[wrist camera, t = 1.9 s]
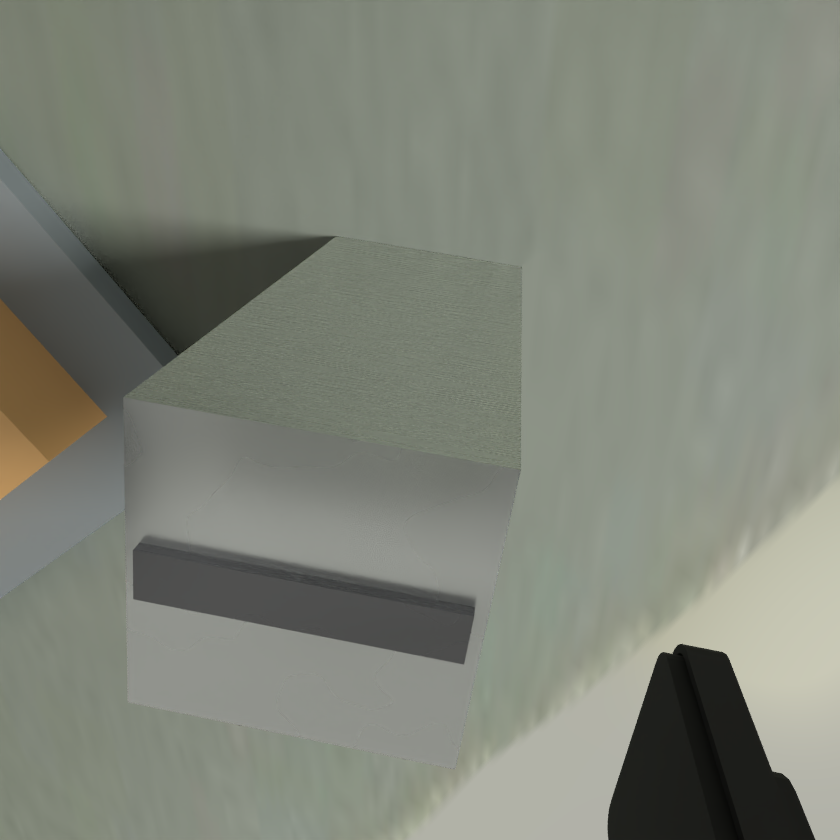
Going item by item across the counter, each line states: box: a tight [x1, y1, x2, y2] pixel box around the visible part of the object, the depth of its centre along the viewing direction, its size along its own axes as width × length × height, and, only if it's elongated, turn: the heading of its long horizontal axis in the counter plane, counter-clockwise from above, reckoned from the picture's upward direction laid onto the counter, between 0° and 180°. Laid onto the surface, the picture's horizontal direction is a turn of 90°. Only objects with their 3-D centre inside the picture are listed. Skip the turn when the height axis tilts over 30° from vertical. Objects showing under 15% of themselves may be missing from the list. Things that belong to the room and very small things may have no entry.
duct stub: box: [123, 236, 522, 769], centre depth 16 cm, size 5×5×12 cm
